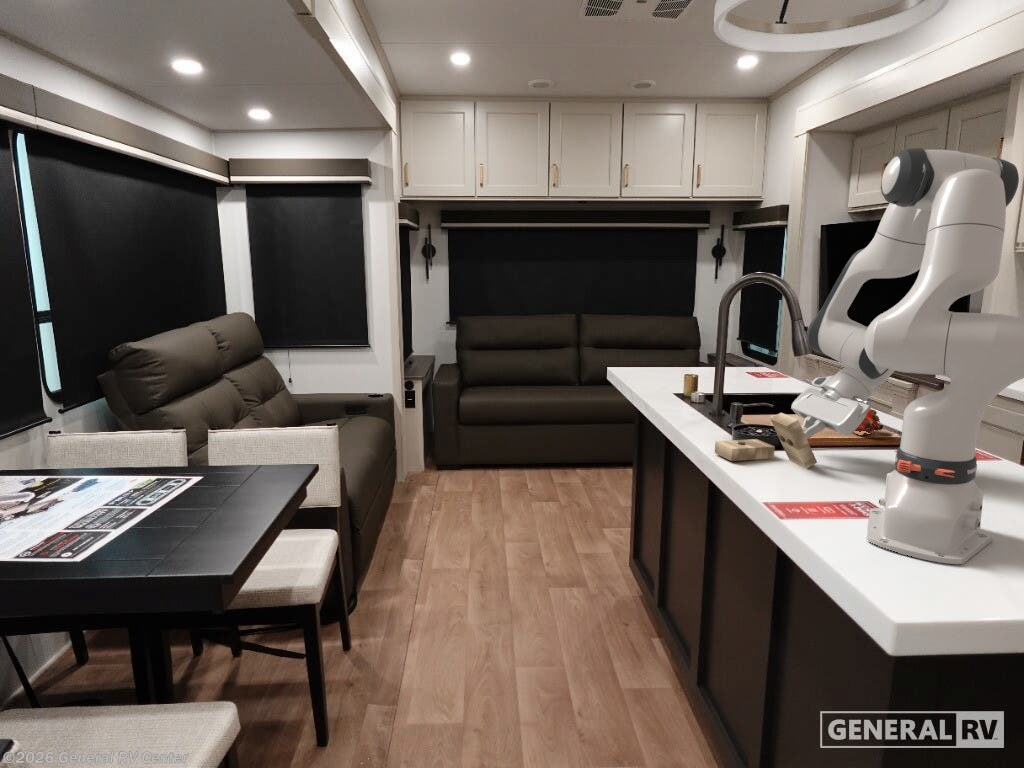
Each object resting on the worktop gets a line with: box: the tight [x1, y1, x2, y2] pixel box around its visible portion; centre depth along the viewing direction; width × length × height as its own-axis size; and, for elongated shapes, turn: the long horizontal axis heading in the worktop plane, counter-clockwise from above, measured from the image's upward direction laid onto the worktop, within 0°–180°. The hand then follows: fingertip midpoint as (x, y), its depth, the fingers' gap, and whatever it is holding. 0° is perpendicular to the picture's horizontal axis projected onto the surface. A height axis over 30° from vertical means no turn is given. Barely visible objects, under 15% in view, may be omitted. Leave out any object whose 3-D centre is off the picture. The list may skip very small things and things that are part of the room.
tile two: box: [770, 412, 818, 470], centre depth 152 cm, size 4×7×12 cm, turn 8°
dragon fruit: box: [855, 408, 884, 434], centre depth 178 cm, size 8×8×12 cm
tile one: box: [714, 438, 776, 462], centre depth 159 cm, size 4×7×12 cm
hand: (802, 435), depth 153 cm, fingers closed
